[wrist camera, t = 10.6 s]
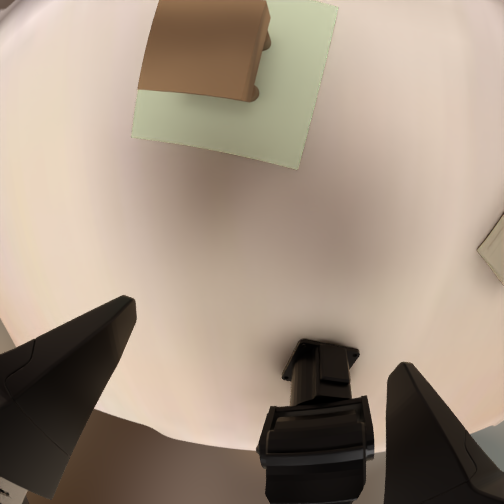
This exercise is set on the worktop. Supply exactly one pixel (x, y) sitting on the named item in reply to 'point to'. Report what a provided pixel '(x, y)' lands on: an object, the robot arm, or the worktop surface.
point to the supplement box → (495, 250)
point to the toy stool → (206, 48)
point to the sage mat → (265, 106)
